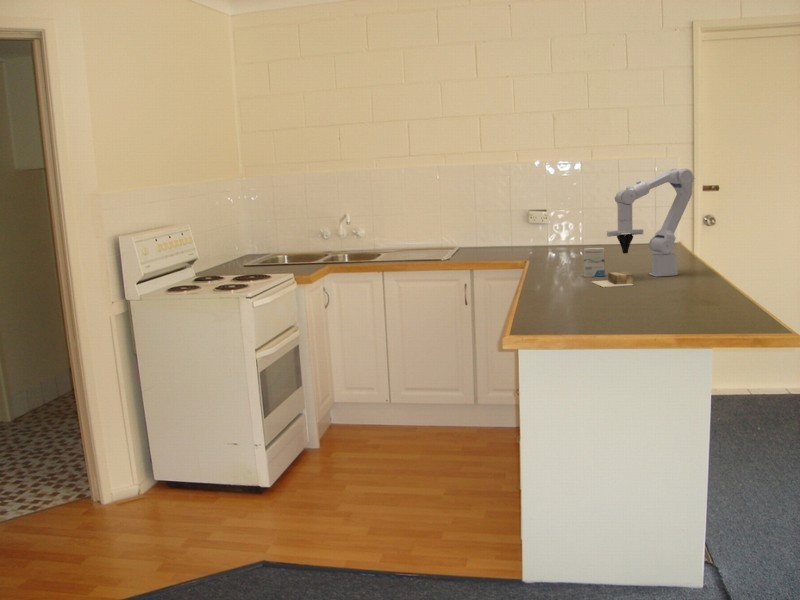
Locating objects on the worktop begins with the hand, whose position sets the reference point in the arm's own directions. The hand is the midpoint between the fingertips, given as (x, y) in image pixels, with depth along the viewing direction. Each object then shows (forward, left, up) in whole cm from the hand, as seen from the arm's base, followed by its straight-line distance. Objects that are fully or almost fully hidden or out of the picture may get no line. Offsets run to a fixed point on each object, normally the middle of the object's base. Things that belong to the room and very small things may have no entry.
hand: (625, 253), depth 312 cm
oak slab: (+3, +11, -8) cm, 14 cm away
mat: (+9, +11, -10) cm, 18 cm away
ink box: (+9, -12, -11) cm, 18 cm away
